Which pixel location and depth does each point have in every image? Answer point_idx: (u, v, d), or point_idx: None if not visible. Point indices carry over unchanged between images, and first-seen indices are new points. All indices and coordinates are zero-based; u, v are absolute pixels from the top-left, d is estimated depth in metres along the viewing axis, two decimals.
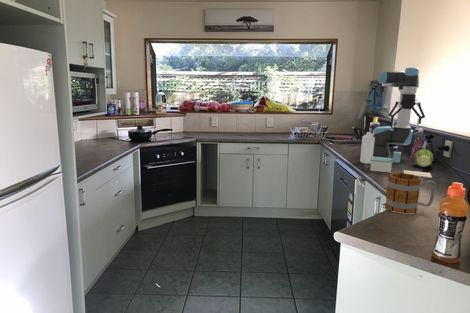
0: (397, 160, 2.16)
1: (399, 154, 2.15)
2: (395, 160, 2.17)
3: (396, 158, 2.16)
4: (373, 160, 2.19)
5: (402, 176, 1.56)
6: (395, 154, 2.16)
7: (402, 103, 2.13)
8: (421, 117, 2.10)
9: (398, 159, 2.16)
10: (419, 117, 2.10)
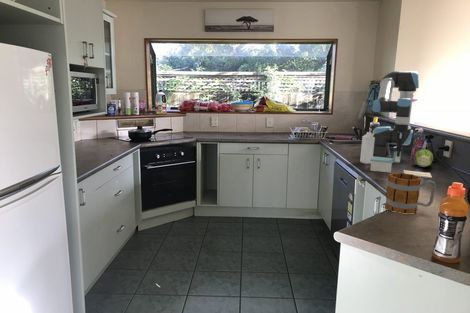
0: None
1: None
2: None
3: None
4: (373, 160, 2.19)
5: (402, 176, 1.56)
6: (395, 154, 2.16)
7: (398, 132, 2.18)
8: None
9: None
10: (396, 149, 2.15)
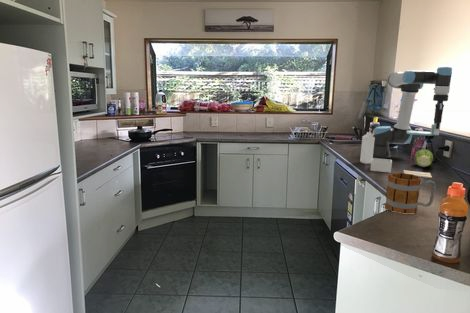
0: None
1: None
2: None
3: None
4: (410, 133, 2.08)
5: (402, 176, 1.56)
6: (434, 126, 2.06)
7: (437, 104, 2.07)
8: (436, 122, 2.03)
9: None
10: (435, 121, 2.04)
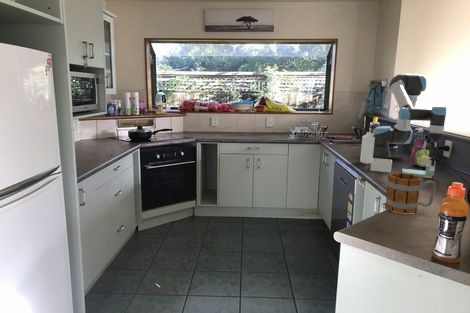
0: (430, 173, 2.11)
1: None
2: (428, 173, 2.11)
3: (429, 171, 2.11)
4: None
5: (402, 176, 1.56)
6: (428, 167, 2.11)
7: (431, 141, 2.12)
8: None
9: (431, 172, 2.10)
10: (430, 158, 2.07)
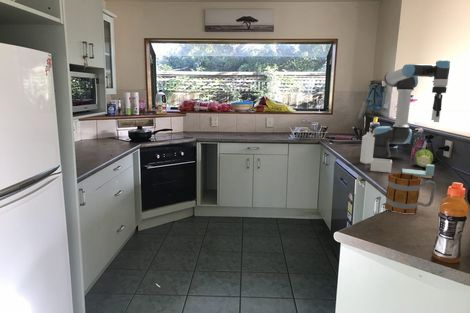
0: (430, 173, 2.11)
1: (433, 167, 2.10)
2: (428, 173, 2.11)
3: (429, 171, 2.11)
4: None
5: (402, 176, 1.56)
6: (428, 167, 2.11)
7: (435, 96, 2.17)
8: None
9: (431, 172, 2.10)
10: None
